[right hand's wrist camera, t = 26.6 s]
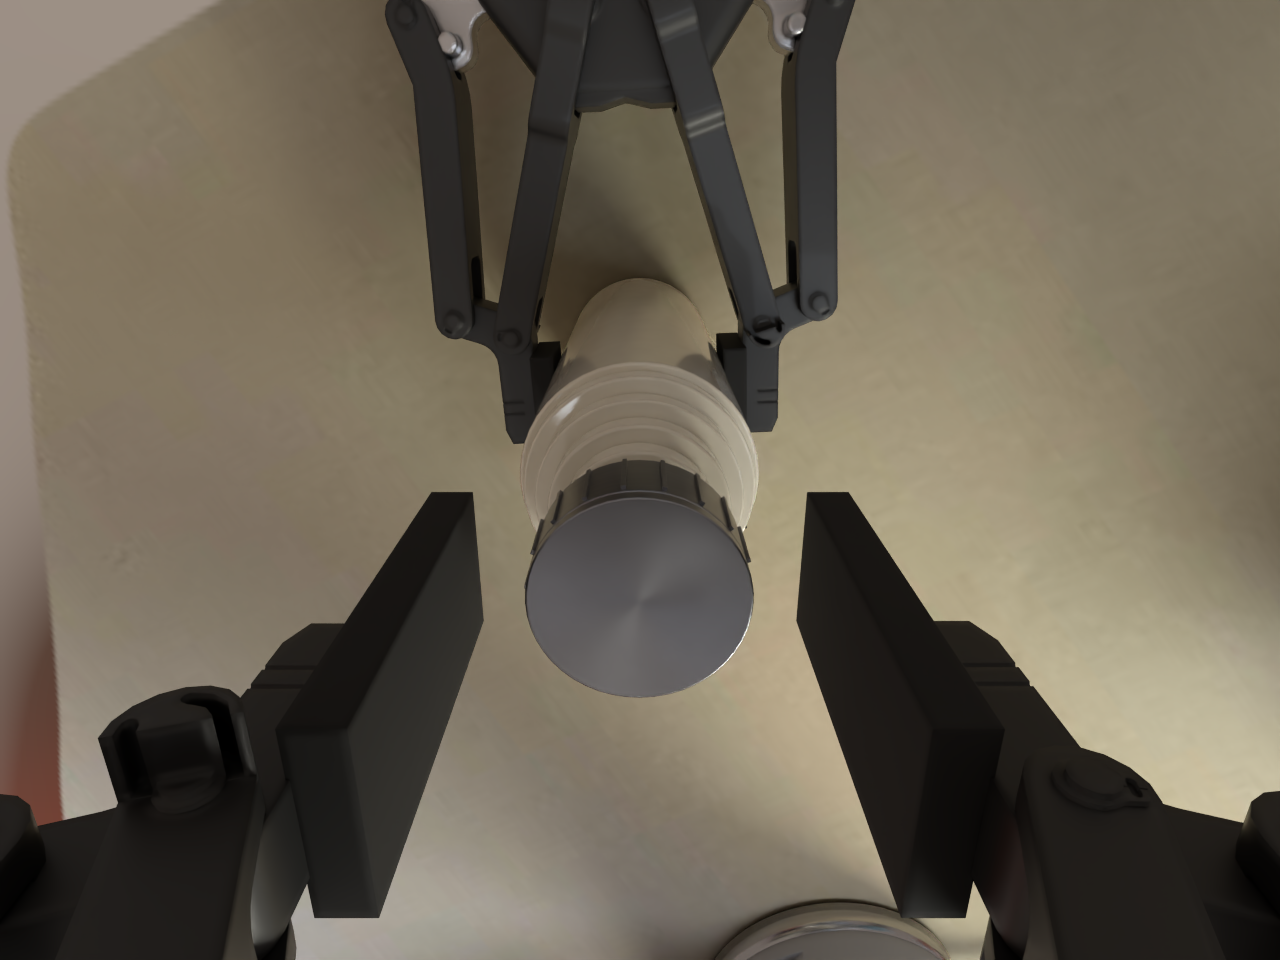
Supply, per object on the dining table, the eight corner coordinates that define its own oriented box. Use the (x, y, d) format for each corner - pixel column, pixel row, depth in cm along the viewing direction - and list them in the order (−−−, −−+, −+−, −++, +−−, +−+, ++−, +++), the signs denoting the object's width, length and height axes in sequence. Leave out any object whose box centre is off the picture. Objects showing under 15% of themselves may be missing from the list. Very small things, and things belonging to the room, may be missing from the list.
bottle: (551, 376, 33) (431, 647, 14) (607, 253, 32) (556, 373, 12) (669, 431, 34) (707, 755, 15) (730, 315, 32) (861, 515, 13)
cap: (492, 537, 15) (473, 585, 13) (660, 413, 14) (663, 447, 12) (621, 675, 16) (619, 736, 14) (783, 570, 15) (802, 621, 13)
